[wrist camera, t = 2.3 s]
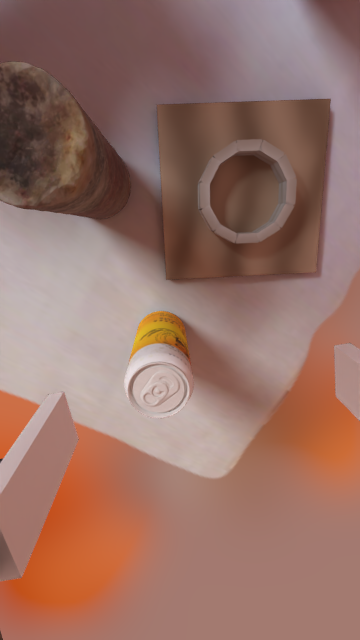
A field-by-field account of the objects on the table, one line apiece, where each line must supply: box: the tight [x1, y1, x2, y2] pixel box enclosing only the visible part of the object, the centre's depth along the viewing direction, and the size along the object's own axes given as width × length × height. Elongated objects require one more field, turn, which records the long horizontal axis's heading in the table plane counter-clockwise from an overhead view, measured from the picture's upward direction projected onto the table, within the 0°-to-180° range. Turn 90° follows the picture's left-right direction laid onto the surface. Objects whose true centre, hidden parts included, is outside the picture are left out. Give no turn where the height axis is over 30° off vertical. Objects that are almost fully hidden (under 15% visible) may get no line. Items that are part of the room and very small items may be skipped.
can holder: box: [157, 99, 331, 280], centre depth 35 cm, size 18×18×4 cm
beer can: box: [124, 311, 194, 418], centre depth 34 cm, size 6×6×15 cm
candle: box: [0, 62, 131, 219], centre depth 26 cm, size 8×7×20 cm
